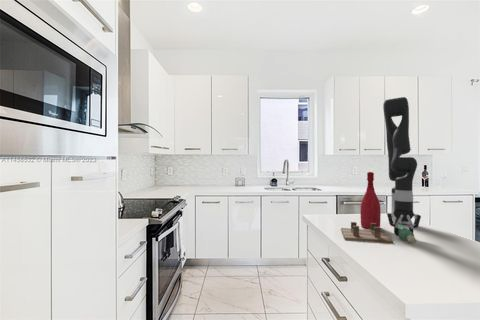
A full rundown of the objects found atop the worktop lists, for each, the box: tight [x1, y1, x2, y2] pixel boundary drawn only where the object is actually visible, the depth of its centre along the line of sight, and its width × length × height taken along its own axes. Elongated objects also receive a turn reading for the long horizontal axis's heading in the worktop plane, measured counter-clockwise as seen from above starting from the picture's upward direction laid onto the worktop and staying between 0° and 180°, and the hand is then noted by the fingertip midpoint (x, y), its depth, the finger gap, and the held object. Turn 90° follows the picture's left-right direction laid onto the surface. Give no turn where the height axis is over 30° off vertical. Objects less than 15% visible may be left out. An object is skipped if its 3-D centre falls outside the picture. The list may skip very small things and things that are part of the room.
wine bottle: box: [360, 171, 382, 230], centre depth 149 cm, size 10×10×30 cm
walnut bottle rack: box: [340, 221, 394, 244], centre depth 131 cm, size 18×20×6 cm
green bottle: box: [398, 224, 416, 243], centre depth 126 cm, size 17×5×5 cm, turn 165°
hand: (403, 235), depth 128 cm, fingers closed on green bottle, 5 cm apart
